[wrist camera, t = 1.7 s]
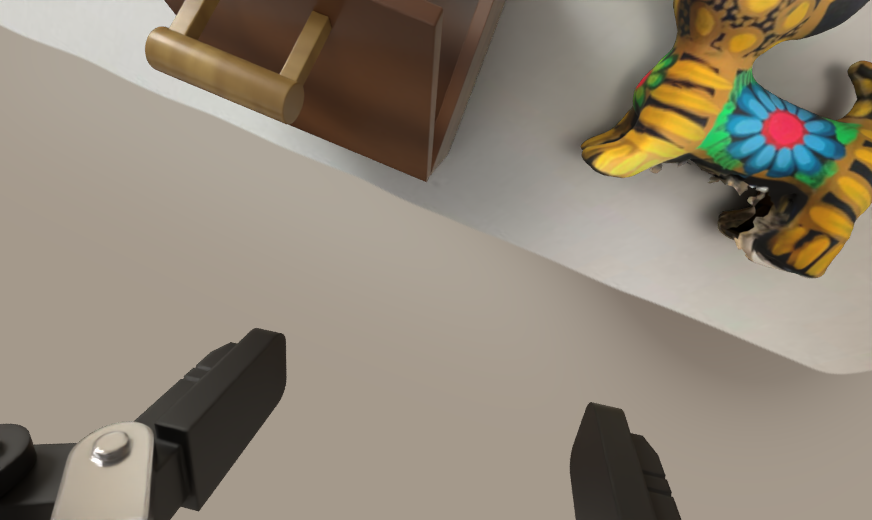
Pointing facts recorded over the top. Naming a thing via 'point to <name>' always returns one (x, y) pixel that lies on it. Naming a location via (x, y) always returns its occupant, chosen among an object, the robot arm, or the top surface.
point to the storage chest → (460, 64)
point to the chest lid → (317, 67)
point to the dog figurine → (752, 130)
